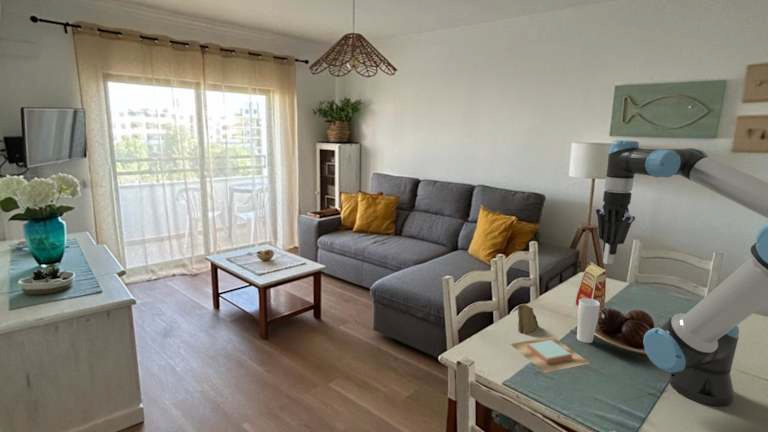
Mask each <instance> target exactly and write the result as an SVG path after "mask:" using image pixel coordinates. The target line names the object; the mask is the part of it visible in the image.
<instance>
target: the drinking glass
mask: <svg viewBox="0 0 768 432" xmlns="http://www.w3.org/2000/svg"><path fill="white" fill-rule="evenodd" d="M599 311H600V303H599V302H598V301H596V300H593V299H589V298H582V299H580V300H579V305H578V308H577V323H576V324H577V329H576V331H577V332H576V339H577V340H578V341H580V342H581V343H585V344H591V343H593V342H594V336H595V332H596V329H597V325H598V320H599V315H600V312H599Z"/></svg>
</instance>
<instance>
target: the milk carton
mask: <svg viewBox="0 0 768 432" xmlns="http://www.w3.org/2000/svg"><path fill="white" fill-rule="evenodd" d="M589 263H590V264H589V265H588V266H587V267H586V268H585V270H584V272H583V275H582V277H581V280H580V284H579V287H578V289H577V292H576V296H575V299H574V303H573V307H574V308H577V309H578V305H579V300H580V299H582V298H589V299H593V300H596V301H598V302H599V303H600V311H599V313H601V312H603V311H604V310H605V308H606V307H605V306H606V292H607V290H606V289H607V274H606V272H607V270H606V269H605V268H602V267H600V266H598V265H596V263H594V262H592V261H589ZM602 310H603V311H602Z"/></svg>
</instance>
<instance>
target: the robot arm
mask: <svg viewBox="0 0 768 432" xmlns="http://www.w3.org/2000/svg"><path fill="white" fill-rule="evenodd" d="M639 145H640V143H639V141H636V140H619V139H618V140H613V141H612V142H611V143H610V147H609V152H608V156H607V157H608V158H607V168H606V169H607V170H606V176H605V182H604V183H605V184H604V189H605V190H604V191H603V198H602V201H603V205H602V207H601V208H597V209H595V213H596V215H597V225H598V227H597V228H598V229H597V230H598V239H599V240H601V241H603V247H602V248H603V249H602V251H603V260H602V263H603V264H605V265H611V264H614V259H615V258H614V257H615V255H616V254H617V250H618V245H623V244H625V242H626V239H627V236H628V233H629V230H630V228H631V226H632V223H634V221H636V216H634V215H633V216H632V215H631V214H630V213H629V210H630V209H629V205H630V204H631V201H632V193H631V191H632V190H633V186H634V179H635V175H636V174H637V175H643V176H651V177H654V178H670V177H672V176H681V177H683V178H685V179H687V180H688V181H692V182H693V183H696V184H698V185H699V186H702V187H704V188H706V189H708V190H710V191H712V192H713V193H715V194H718V195H720V196H722V197H724V198H726V199H728V200H729V201H732V202H734V203H736V204H738V205H740V206H742V207H744V208H746V209H748V210H750V211H752V212H754V213H755V214H758V215H760V216H762V217H764V218H767V219H768V182H767V181H765V180H763V179H761V178H758V177H756V176H755V175H751V174H748V173H746V172H744V171H742V170H739V169H737V168H734V167H733V166H730V165H728V164H726V163H723V162H721V161H718V160H716V159H713V158H711V157H709V156H708V154H707V153H706V152H705V151H704V150H702V149H699V148H698V149H697V148H693V147H692V148H689V147H688V148H657V149H656V148H642V147H641V148H640V146H639ZM755 238H756V239H755V240H756V242H754V244H753V245H751V246H750V248H749V254H750V258H748V259H747V260H746V261H745V262H744V263H743V264H742V265H740V266H739V267H738V268H736V270H735V271H733V272H732V273H731V274H730V275H729V276H727V278H725V279H724V280H723V281H722V282H721V283H720V284H718V285H717V286H716V287H715V288H714V289H713V290H712V291H710V292H709V293H708V294H707V295H705V297H703V298H702V299H701V300H700V301H699V302H698V303H697V304H696V305H694V306H693V307H692V308H691V309H690V310H689V311H688V312H686V313H682V312H680V313H676V314H674V315H673V316H672V317H671V318H670V319H668V320H667V321H666V322H665V323H663V325H661V326H659V327H653V328H651V329H649V330H647V331H646V332H645V333H644V335H643V341H642V343H643V347H644V352H645V354H646V355H647V357H648V359H649V360H650V362H651V363H653V365H654V366H656V368H659V369H660V370H662V371H665V372H667V373H669V377H668V378H669V379H668V382H669V385H670V386H671V387H672V388H673V390H675V391H676V392H677V393H679V394H681V395H682V396H684V397H686V398H687V399H689V400H690V399H691V400H692V401H693V402H694V401H695V402H697V403H700V404H704V405H708V406H714V407H726V406H730V405H731V404H732V403H733V401H734V396H735V391H734V387H733V382H732V376H731V371H732V366H733V362H734V359H735V354H736V350H737V345H738V342H739V341H738V340H739V339H740V338H739V334H740V328H739V326H738V325H739V324H741V323H743V321H745V320H746V319H747V318H748V317H750V316H752V315H753V314H754V313H756V311H758V310H760V309H761V308H762V307H763V306H766V304H767V303H768V221H767V222H766V223H765V224H763V226H762V227H760V230H758V233H757V235H756V237H755Z"/></svg>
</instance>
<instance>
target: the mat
mask: <svg viewBox="0 0 768 432" xmlns="http://www.w3.org/2000/svg"><path fill="white" fill-rule="evenodd" d="M547 340H552V341H554V342H555V343H557V344H558V345H559V346H561V347H562V348H564V349H565V350H567V351H568V352H569V353H571V354H572V359H568V360H563V361H558V362H553V363H548V364H546V363H545V362H544V361H543V360H541V359H540V358H539V357H538V356H536V355H535V354H534V353H533V352H531V351H530V350H529V349H528V348H527V344H531V343H536V342H542V341H547ZM510 346H512V347H513V348H514V349H515V350H516V351H518V352H519V354H521V355H522V356H523V357H525V358H526V359H527V360H528V361H529V362H530V363H532V364H533V365H535V366H536V367H537V368H538V369H540V371H542V372H543V373H544V374H545V373H546V374H547V373H551V372H552V373H553V372H555V371H560V370H564V369H565V370H566V369H569V368H575V367H579V366H584V365H589V364H591V362H590V361H589V360H587V359H585V358H584V357H582V356H581V355H579V354H578V353H577V352H576V351H574V350H572V349H571V348H569V346H567V345H566V344H564V343H563V342H561V341H560V340H558V339H557V338H555V337H554V336H548V337H542V338H538V339H537V338H536V339H530V340H525V341H519V342H513V343H510Z"/></svg>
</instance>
